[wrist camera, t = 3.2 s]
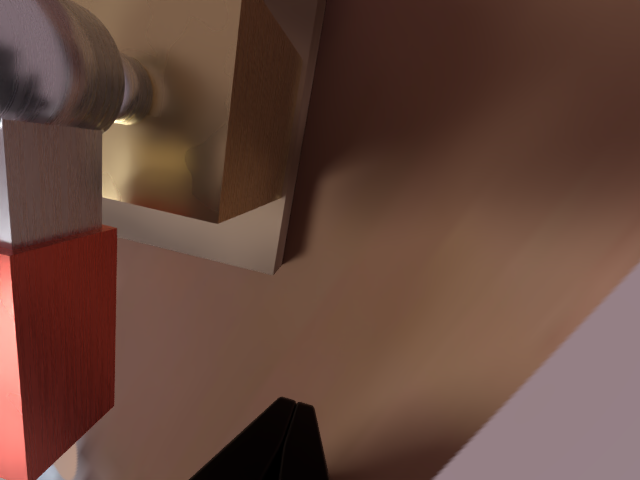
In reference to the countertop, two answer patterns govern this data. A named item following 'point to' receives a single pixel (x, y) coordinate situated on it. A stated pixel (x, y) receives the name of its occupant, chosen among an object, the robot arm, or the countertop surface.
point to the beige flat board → (256, 225)
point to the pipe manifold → (199, 106)
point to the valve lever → (54, 230)
